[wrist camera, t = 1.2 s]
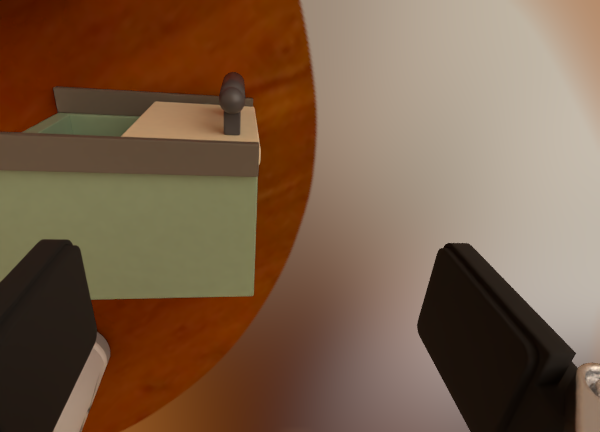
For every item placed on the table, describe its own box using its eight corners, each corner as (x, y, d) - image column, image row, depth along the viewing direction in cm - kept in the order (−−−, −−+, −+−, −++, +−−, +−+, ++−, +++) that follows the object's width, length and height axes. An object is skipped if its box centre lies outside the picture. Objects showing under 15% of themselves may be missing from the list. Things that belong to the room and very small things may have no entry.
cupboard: (55, 86, 24) (-62, 131, 14) (252, 97, 25) (259, 144, 16) (80, 209, 27) (0, 307, 18) (249, 212, 29) (253, 301, 20)
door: (151, 61, 23) (104, 86, 15) (255, 69, 24) (262, 95, 16) (155, 113, 24) (115, 161, 16) (254, 118, 25) (260, 165, 17)
